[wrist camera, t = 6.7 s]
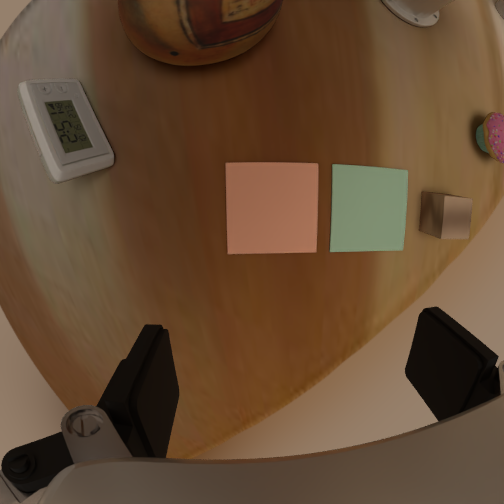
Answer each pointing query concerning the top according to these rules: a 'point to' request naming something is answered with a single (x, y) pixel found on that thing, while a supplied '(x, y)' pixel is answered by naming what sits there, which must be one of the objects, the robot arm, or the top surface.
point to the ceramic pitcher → (196, 28)
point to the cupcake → (492, 136)
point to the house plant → (500, 7)
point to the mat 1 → (271, 207)
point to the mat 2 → (368, 208)
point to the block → (445, 215)
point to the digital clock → (64, 128)
